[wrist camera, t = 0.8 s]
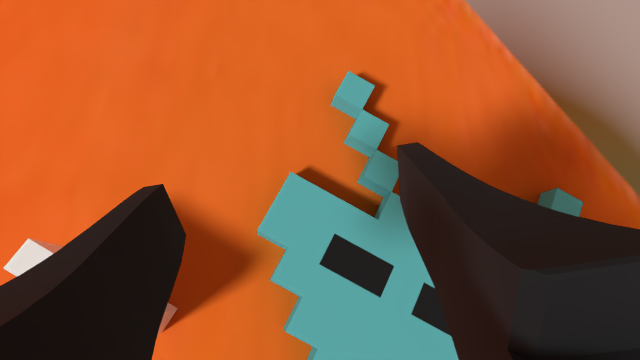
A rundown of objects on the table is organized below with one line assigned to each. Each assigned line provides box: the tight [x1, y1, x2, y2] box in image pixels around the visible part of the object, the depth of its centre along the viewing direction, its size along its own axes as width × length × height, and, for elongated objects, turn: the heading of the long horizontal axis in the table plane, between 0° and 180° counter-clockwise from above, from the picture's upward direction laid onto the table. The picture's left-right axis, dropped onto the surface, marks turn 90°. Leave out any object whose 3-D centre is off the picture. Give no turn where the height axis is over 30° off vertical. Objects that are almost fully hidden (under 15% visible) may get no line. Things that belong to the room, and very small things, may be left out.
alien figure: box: [257, 71, 583, 360], centre depth 27 cm, size 20×2×20 cm
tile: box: [4, 238, 178, 335], centre depth 21 cm, size 2×7×6 cm, turn 60°
